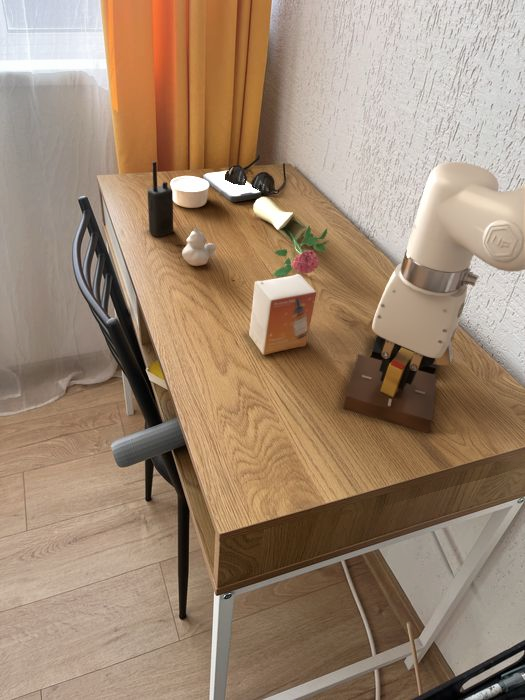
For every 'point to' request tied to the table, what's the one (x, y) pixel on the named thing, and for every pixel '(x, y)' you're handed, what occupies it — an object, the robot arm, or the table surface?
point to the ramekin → (189, 191)
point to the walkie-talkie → (160, 207)
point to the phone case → (231, 187)
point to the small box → (281, 313)
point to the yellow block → (396, 372)
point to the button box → (377, 351)
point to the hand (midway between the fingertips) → (394, 379)
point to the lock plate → (403, 408)
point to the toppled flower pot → (291, 236)
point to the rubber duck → (198, 249)
